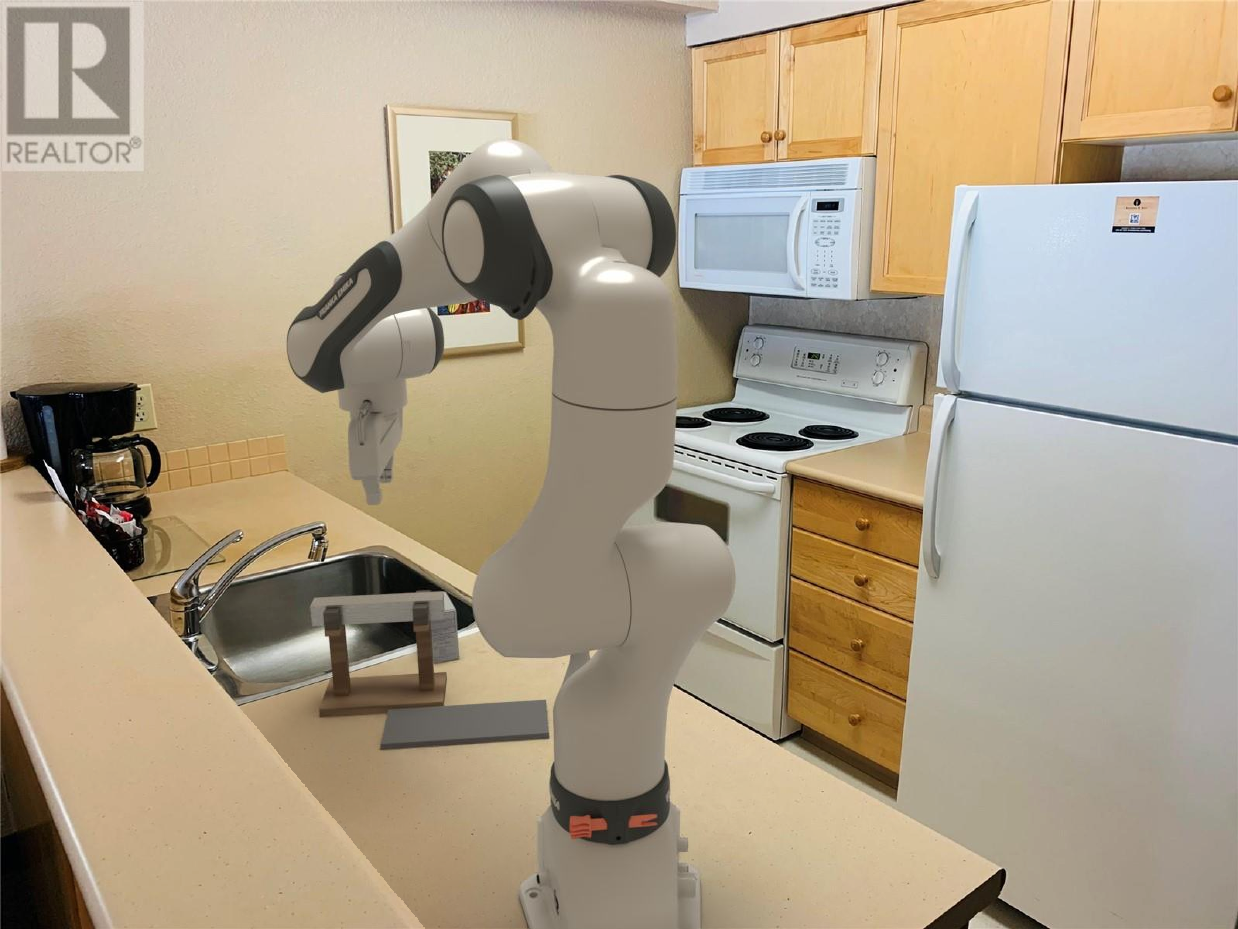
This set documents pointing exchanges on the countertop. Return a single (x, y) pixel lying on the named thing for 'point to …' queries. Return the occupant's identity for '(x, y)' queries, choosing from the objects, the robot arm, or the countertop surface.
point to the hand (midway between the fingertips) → (380, 492)
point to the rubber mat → (465, 724)
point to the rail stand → (381, 690)
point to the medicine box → (445, 634)
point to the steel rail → (378, 607)
